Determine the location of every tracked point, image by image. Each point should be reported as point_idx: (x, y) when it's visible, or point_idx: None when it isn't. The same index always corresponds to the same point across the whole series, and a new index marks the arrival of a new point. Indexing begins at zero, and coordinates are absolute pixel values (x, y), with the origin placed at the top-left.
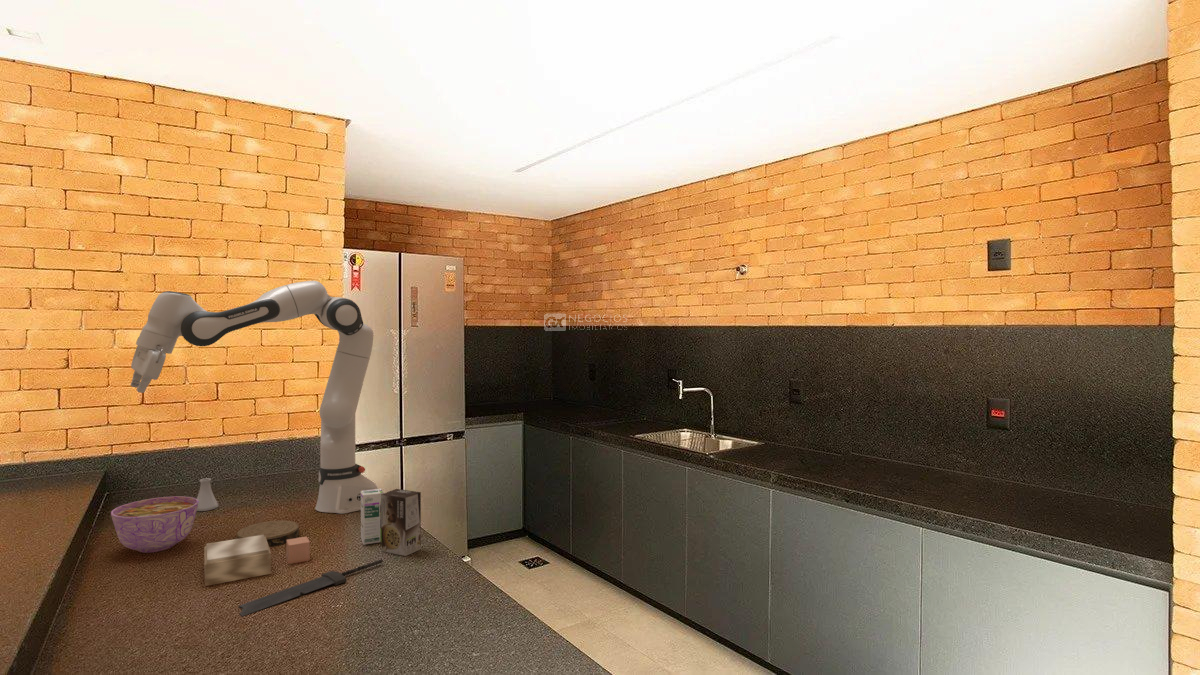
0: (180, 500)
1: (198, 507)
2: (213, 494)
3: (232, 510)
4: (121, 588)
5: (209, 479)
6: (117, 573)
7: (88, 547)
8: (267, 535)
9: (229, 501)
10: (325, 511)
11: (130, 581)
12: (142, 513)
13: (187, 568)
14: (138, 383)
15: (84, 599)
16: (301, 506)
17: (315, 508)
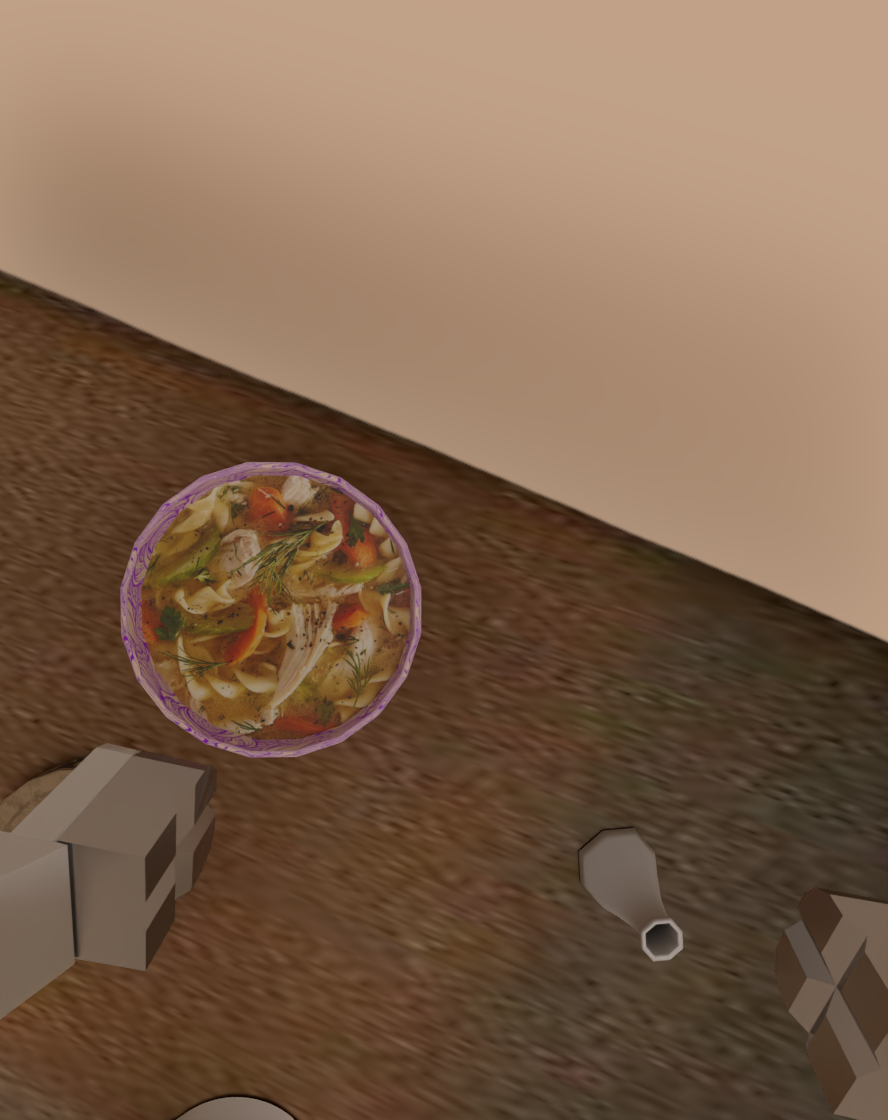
0: (346, 723)
1: (605, 843)
2: (624, 920)
3: (514, 914)
4: (12, 402)
5: (645, 950)
6: (151, 438)
7: (480, 469)
8: (10, 829)
9: (640, 958)
10: (199, 1108)
11: (49, 436)
12: (289, 565)
13: (23, 574)
14: (826, 1053)
15: (8, 315)
16: (355, 1090)
17: (266, 1105)
